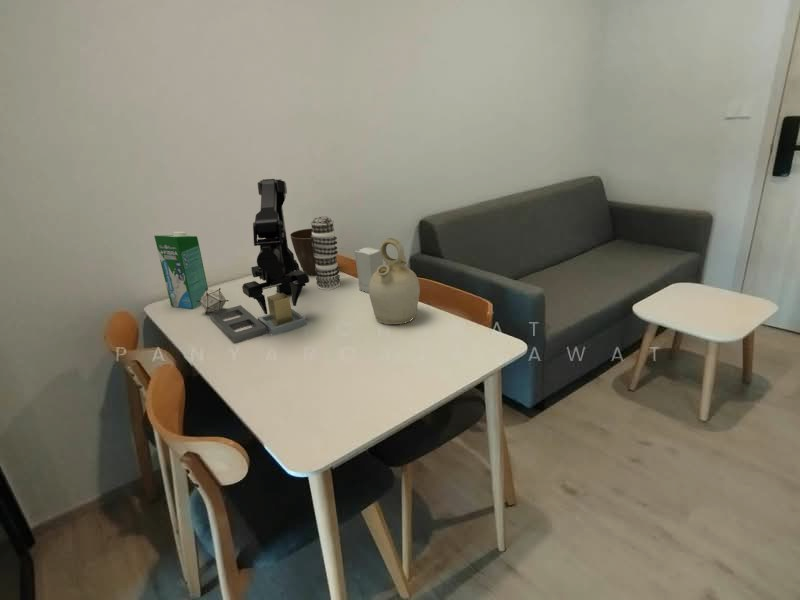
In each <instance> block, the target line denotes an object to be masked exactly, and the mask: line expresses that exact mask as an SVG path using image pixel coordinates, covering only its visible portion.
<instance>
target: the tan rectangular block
mask: <svg viewBox="0 0 800 600" xmlns="http://www.w3.org/2000/svg"><path fill="white" fill-rule="evenodd" d="M266 300H267V305H268V311H269V312H268V313H269V314H270V319H271V323H272V324H274V325H275V326H279V325H283V324H286V323H289V322H292V321H293V318H292V311H291V309H292V304H291V298H290V295H288V296H287V295H286V294H284V293H276V294H271V295H269V296H267V298H266Z"/></svg>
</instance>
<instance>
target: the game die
mask: <svg viewBox="0 0 800 600" xmlns="http://www.w3.org/2000/svg"><path fill="white" fill-rule="evenodd" d="M205 290H206V291H205V293H204V295H203V296H202V298H201V299H200V301H199V300H198V301H197V302H200V303H201V305H200V306H202V307H203V309H204V310H205V315H206V314H208V313H214V312H217V311H221V310H223V307H224V305H225V304H226V302H229V301H230V300H228V299H226V298H225V296H224V295H223V293H222V292H221V287H219V288H218V289H208V290H207V289H206V288H205Z"/></svg>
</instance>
